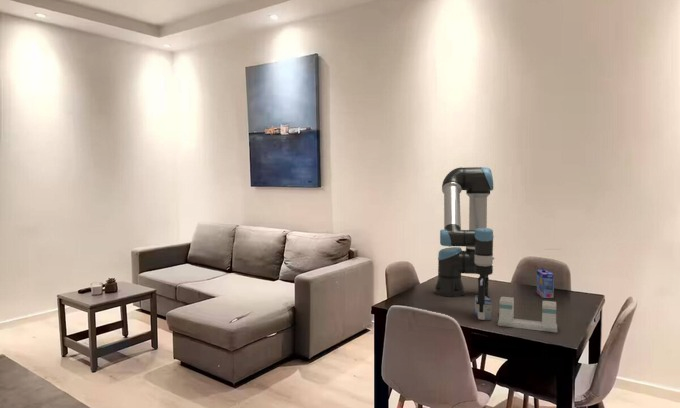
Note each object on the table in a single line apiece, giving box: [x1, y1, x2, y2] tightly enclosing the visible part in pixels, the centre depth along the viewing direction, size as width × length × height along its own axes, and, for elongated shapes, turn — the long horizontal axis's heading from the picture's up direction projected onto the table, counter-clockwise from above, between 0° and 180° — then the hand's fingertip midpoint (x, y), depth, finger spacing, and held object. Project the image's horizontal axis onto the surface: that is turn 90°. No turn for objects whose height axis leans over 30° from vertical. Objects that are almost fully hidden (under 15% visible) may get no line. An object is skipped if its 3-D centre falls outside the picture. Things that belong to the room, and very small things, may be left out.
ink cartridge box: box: [536, 266, 555, 299], centre depth 233 cm, size 10×6×14 cm, turn 174°
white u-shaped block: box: [497, 296, 558, 334], centre depth 188 cm, size 22×8×10 cm, turn 66°
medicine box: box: [474, 294, 493, 321], centre depth 200 cm, size 8×4×9 cm, turn 5°
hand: (482, 315), depth 200 cm, fingers closed on medicine box, 9 cm apart
